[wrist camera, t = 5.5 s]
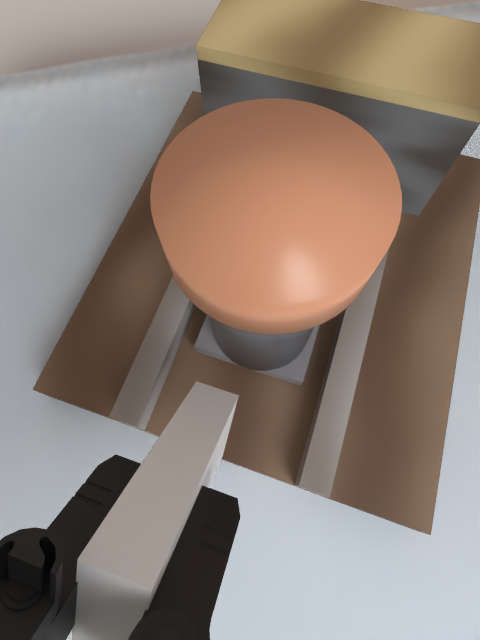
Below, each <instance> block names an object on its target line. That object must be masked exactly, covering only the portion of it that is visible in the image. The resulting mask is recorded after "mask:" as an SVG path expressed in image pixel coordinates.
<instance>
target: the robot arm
mask: <svg viewBox="0 0 480 640" xmlns="http://www.w3.org/2000/svg"><path fill="white" fill-rule="evenodd" d="M238 396H239V395H236V394H233V393H230V392H227V391H224V390H221V389H218V388H215V387H212V386H209V385H206V384H203V383H200V382H197V381H196V383H195V384H194V386H193V387H192V389H191V390H190V392H189V393H188V395H187V396H186V398H185V399H184V401H183V402H182V404H181V405H180V407H179V408H178V410H177V411H176V413H175V414H174V416H173V417H172V419H171V420H170V422H169V423H168V425H167V426H166V428H165V429H164V431H163V432H162V434H161V435H160V437H159V438H158V440H157V441H156V443H155V444H154V446H153V447H152V449H151V450H150V452H149V453H148V455H147V456H146V458H145V459H144V460H143V462H142V463H141V464H140V463H137V462H134V461H132V460H129V459H126V458H124V457H121V456H118V455H114V456H113V457H111V458H109V459H108V460H106V461H104V462H103V463H101V464H100V465H98V466H97V468H96V469H95V470H94V471H93V473H92V474H91V475H90V476H89V478H88V479H87V480H86V482H85V484H83V485H82V486H81V487H80V489H79V490H78V491H77V492H76V494H75V496H74V497H72V499H71V500H70V501H69V502H68V504H67V505H66V506H65V507H64V508H63V510H62V511H61V512H60V513H59V515H58V516H57V517H56V518H55V520H54V521H53V522H52V523H51V525H50V526H49V527H48V528H47V530H46V529H41V528H28V529H21V530H18V531H16V532H14V533H12V534H9V535H7V536H5V537H4V538H3V539H1V540H0V640H66V639H67V637H68V635H69V633H70V632H71V630H72V640H210V633H209V628H210V622H211V617H212V614H213V610H214V607H215V603H216V600H217V596H218V593H219V589H220V586H221V582H222V579H223V575H224V572H225V569H226V565H227V562H228V558H229V555H230V551H231V548H232V544H233V541H234V537H235V534H236V530H237V527H238V524H239V520H240V512H239V505H238V499H237V498H235V497H232V496H229V495H227V494H224V493H221V492H219V491H216V490H213V489H211V488H210V486H211V484H212V481H213V479H214V476H215V474H216V471H217V469H218V466H219V464H220V462H221V459H222V457H223V453H224V449H225V445H226V442H227V438H228V434H229V430H230V426H231V423H232V419H233V415H234V411H235V408H236V404H237V400H238ZM72 628H73V629H72Z"/></svg>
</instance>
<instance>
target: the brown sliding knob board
mask: <svg viewBox="0 0 480 640" xmlns="http://www.w3.org/2000/svg"><path fill="white" fill-rule="evenodd" d="M196 50H197V59H198V67H199V76H200V84H201V93H198V92H194V91H193V92H192V94H191V96H190V98H189V99H188V101H187V103H186V105H185V107H184V109H183V111H182V112H181V114H180V116H179V118H178V120H177V122H176V124H175V125H174V127H173V129H172V131H171V133H170V135H169V137H168V139H167V140H166V142H165V144H164V146H163V148H162V150H161V152H160V153H159V155H158V157H157V159H156V161H155V163H154V165H153V166H152V168H151V170H150V172H149V174H148V176H147V178H146V179H145V181H144V183H143V185H142V187H141V189H140V191H139V193H138V194H137V196H136V198H135V200H134V202H133V204H132V206H131V207H130V209H129V211H128V213H127V215H126V217H125V219H124V220H123V222H122V224H121V226H120V228H119V230H118V232H117V233H116V235H115V237H114V239H113V241H112V243H111V245H110V247H109V248H108V250H107V252H106V254H105V256H104V258H103V260H102V261H101V263H100V265H99V267H98V269H97V271H96V273H95V274H94V276H93V278H92V280H91V282H90V284H89V286H88V287H87V289H86V291H85V293H84V295H83V297H82V299H81V301H80V302H79V304H78V306H77V308H76V310H75V312H74V314H73V315H72V317H71V319H70V321H69V323H68V325H67V327H66V328H65V330H64V332H63V334H62V336H61V338H60V340H59V341H58V343H57V345H56V347H55V349H54V351H53V353H52V354H51V356H50V358H49V360H48V362H47V364H46V366H45V368H44V369H43V371H42V373H41V375H40V377H39V379H38V381H37V382H36V384H35V386H34V388H33V390H35V391H38V392H40V393H43V394H45V395H48V396H50V397H53V398H56V399H59V400H61V401H64V402H67V403H69V404H72V405H75V406H78V407H80V408H83V409H86V410H89V411H91V412H94V413H97V414H99V415H102V416H105V417H108V418H110V419H113V420H116V421H119V422H121V423H124V424H127V425H130V426H132V427H135V428H138V429H140V430H143V431H146V432H149V433H151V434H154V435H157V436H160V435H161V434H162V432H163V431H164V429H165V428H166V426H167V425H168V423H169V422H170V420H171V419H172V417H173V416H174V414H175V413H176V411H177V410H178V408H179V407H180V405H181V404H182V402H183V401H184V399H185V398H186V396H187V395H188V393H189V392H190V390H191V389H192V387H193V386H194V384H195V383H196V381H197V382H200V383H203V384H206V385H209V386H212V387H215V388H218V389H221V390H224V391H227V392H230V393H233V394H236V395H239V396H238V400H237V404H236V408H235V411H234V415H233V419H232V423H231V426H230V430H229V434H228V438H227V442H226V445H225V449H224V453H223V457H222V460H225V461H228V462H231V463H233V464H236V465H239V466H242V467H244V468H247V469H250V470H252V471H255V472H258V473H261V474H263V475H266V476H269V477H272V478H274V479H277V480H280V481H283V482H285V483H288V484H291V485H293V486H296V487H299V488H302V489H304V490H307V491H310V492H313V493H315V494H318V495H321V496H324V497H326V498H329V499H332V500H334V501H337V502H340V503H343V504H345V505H348V506H351V507H354V508H356V509H359V510H362V511H365V512H367V513H370V514H373V515H375V516H378V517H381V518H384V519H386V520H389V521H392V522H395V523H397V524H400V525H403V526H405V527H408V528H411V529H414V530H417V531H420V532H423V533H426V534H429V535H431V529H432V523H433V516H434V509H435V502H436V495H437V489H438V482H439V475H440V468H441V462H442V455H443V448H444V441H445V435H446V428H447V421H448V414H449V408H450V401H451V394H452V387H453V381H454V374H455V367H456V360H457V354H458V347H459V340H460V333H461V327H462V320H463V313H464V306H465V300H466V293H467V286H468V279H469V273H470V266H471V259H472V252H473V246H474V239H475V232H476V225H477V219H478V212H479V205H480V159H478V158H473V157H469V156H465V155H461V154H460V153H461V151H462V150H463V148H464V147H465V145H466V144H467V142H468V141H469V139H470V138H471V136H472V135H473V133H474V132H475V130H476V129H477V127H478V125H479V124H480V23H475V22H470V21H465V20H459V19H454V18H449V17H444V16H438V15H433V14H428V13H423V12H418V11H412V10H407V9H402V8H397V7H392V6H386V5H381V4H376V3H371V2H366V1H360V0H221V2H220V4H219V6H218V7H217V9H216V11H215V13H214V14H213V16H212V18H211V20H210V22H209V23H208V25H207V27H206V29H205V30H204V32H203V34H202V36H201V37H200V39H199V41H198V43H197V44H196ZM265 98H281V99H293V100H299V101H304V102H309V103H313V104H316V105H320V106H323V107H326V108H328V109H331V110H333V111H336V112H338V113H340V114H342V115H344V116H346V117H347V118H349V119H351V120H352V121H354V122H355V123H357V124H358V125H360V126H361V127H362V128H363V129H365V130H366V131H367V132H368V133H369V134H371V135H372V136H373V137H374V139H375V140H376V141H377V142H378V143H379V144H380V145H381V146H382V148H383V149H384V151H385V152H386V153H387V155H388V156H389V158H390V160H391V162H392V164H393V166H394V168H395V170H396V173H397V176H398V179H399V182H400V187H401V193H402V212H401V218H400V223H399V226H398V229H397V233H396V235H395V237H394V239H393V241H392V243H391V245H390V247H389V249H388V250H387V252H386V254H385V255H384V257H383V258H382V260H381V262H380V263H379V265H378V266H377V268H376V270H375V271H374V273H373V274H372V276H371V277H370V279H369V281H368V282H367V284H366V285H365V287H364V289H363V290H362V291H361V293H360V294H359V295H358V297H357V298H356V299H355V300H354V301H353V302H352V303H351V304H350V305H349V306H348V307H347V308H346V309H345V310H343V311H342V312H341V313H339V314H338V315H337V316H335V317H334V318H332V319H330V320H328V321H326V322H325V323H323V324H320V325H319V328H318V332H317V335H316V339H315V342H314V346H313V349H312V353H311V356H310V360H309V363H308V367H307V370H306V374H305V377H304V380H303V383H302V385H301V386H298V385H295V384H292V383H289V382H286V381H283V380H280V379H277V378H274V377H271V376H268V375H265V374H262V373H259V372H256V371H253V370H250V369H247V368H244V367H241V366H238V365H235V364H232V363H229V362H226V361H223V360H220V359H217V358H214V357H211V356H208V355H204V354H201V353H198V352H196V350H195V348H194V345H195V343H196V340H197V338H198V335H199V333H200V331H201V328H202V326H203V323H204V321H205V318H206V316H207V314H206V313H204V312H203V311H202V310H200V309H199V308H198V307H197V306H196V305H195V304H193V303H192V302H191V301H190V300H189V299H188V297H187V296H186V295H185V294H184V292H183V291H182V290H181V289H180V287H179V285H178V283H177V282H176V280H175V278H174V276H173V274H172V271H171V269H170V266H169V263H168V261H167V258H166V255H165V252H164V250H163V247H162V244H161V241H160V239H159V236H158V233H157V230H156V228H155V225H154V222H153V217H152V213H151V204H150V192H151V183H152V179H153V176H154V172H155V169H156V167H157V164H158V162H159V160H160V158H161V156H162V155H163V153H164V151H165V150H166V148H167V147H168V146H169V144H170V143H171V142H172V141H173V140H174V138H175V137H176V136H177V135H178V134H179V133H181V132H182V131H183V130H184V129H185V128H186V127H187V126H189V125H190V124H192V123H193V122H194V121H196V120H197V119H199V118H201V117H202V116H204V115H206V114H208V113H210V112H212V111H214V110H217V109H219V108H221V107H224V106H228V105H231V104H234V103H238V102H243V101H248V100H255V99H265Z"/></svg>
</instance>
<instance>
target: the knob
mask: <svg viewBox="0 0 480 640" xmlns="http://www.w3.org/2000/svg"><path fill="white" fill-rule="evenodd" d="M150 204H151V213H152V217H153V222H154V225H155V228H156V230H157V233H158V236H159V239H160V241H161V244H162V247H163V250H164V252H165V255H166V258H167V261H168V263H169V266H170V269H171V271H172V274H173V276H174V278H175V280H176V282H177V283H178V285H179V287H180V289H181V290H182V291H183V292H184V294H185V295H186V296H187V297H188V299H189V300H190V301H191V302H192V303H193V304H195V305H196V306H197V307H198V308H199V309H200V310H202V311H203V312H204V313H206V314H207V316H206V318H205V321H204V323H203V326H202V328H201V331H200V333H199V335H198V338H197V340H196V343H195V345H194V348H195V350H196V352H198V353H201V354H204V355H208V356H211V357H214V358H217V359H220V360H223V361H226V362H229V363H232V364H235V365H238V366H241V367H244V368H247V369H250V370H253V371H256V372H259V373H262V374H265V375H268V376H271V377H274V378H277V379H280V380H283V381H286V382H289V383H292V384H295V385H298V386H301V385H302V383H303V380H304V377H305V374H306V370H307V367H308V363H309V360H310V356H311V353H312V349H313V346H314V342H315V339H316V335H317V332H318V328H319V325H320V324H323V323H325V322H326V321H328V320H330V319H332V318H334V317H335V316H337V315H338V314H339V313H341V312H342V311H343V310H345V309H346V308H347V307H348V306H349V305H350V304H351V303H352V302H353V301H354V300H355V299H356V298H357V297H358V295H359V294H360V293H361V291H362V290H363V289H364V287H365V285H366V284H367V282H368V281H369V279H370V277H371V276H372V274H373V273H374V271H375V270H376V268H377V266H378V265H379V263H380V262H381V260H382V258H383V257H384V255H385V254H386V252H387V250H388V249H389V247H390V245H391V243H392V241H393V239H394V237H395V235H396V233H397V229H398V226H399V223H400V218H401V212H402V193H401V187H400V182H399V179H398V176H397V173H396V170H395V168H394V166H393V164H392V162H391V160H390V158H389V156H388V155H387V153H386V152H385V151H384V149H383V148H382V146H381V145H380V144H379V143H378V142H377V141H376V140H375V139H374V137H373V136H372V135H371V134H369V133H368V132H367V131H366V130H365V129H363V128H362V127H361V126H360V125H358V124H357V123H355V122H354V121H352V120H351V119H349V118H347V117H346V116H344V115H342V114H340V113H338V112H336V111H333V110H331V109H328V108H326V107H323V106H320V105H316V104H313V103H309V102H304V101H299V100H293V99H281V98H265V99H255V100H248V101H243V102H238V103H234V104H231V105H228V106H224V107H221V108H219V109H217V110H214V111H212V112H210V113H208V114H206V115H204V116H202V117H201V118H199V119H197V120H196V121H194V122H193V123H192V124H190V125H189V126H187V127H186V128H185V129H184V130H183V131H182V132H181V133H179V134H178V135H177V136H176V137H175V138H174V140H173V141H172V142H171V143H170V144H169V146H168V147H167V148H166V150H165V151H164V153H163V155H162V156H161V158H160V160H159V162H158V164H157V167H156V169H155V172H154V176H153V179H152V183H151V192H150Z"/></svg>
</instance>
